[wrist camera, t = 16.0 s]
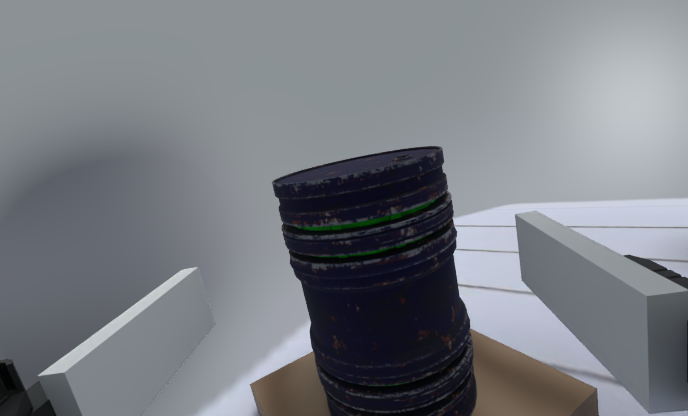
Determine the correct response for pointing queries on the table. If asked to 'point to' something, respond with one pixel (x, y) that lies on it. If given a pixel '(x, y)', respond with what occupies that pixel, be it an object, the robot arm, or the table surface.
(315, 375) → the walnut plinth
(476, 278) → the table surface
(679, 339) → the robot arm
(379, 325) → the dark blue cylinder
